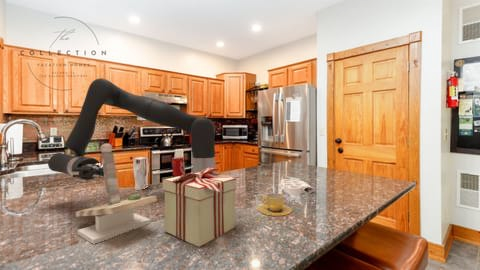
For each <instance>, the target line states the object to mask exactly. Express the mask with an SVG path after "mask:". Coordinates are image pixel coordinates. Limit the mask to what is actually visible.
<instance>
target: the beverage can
mask: <svg viewBox="0 0 480 270" xmlns="http://www.w3.org/2000/svg"><path fill="white" fill-rule="evenodd" d="M171 167H172V178H174V177H178V176H183V175H186V169H185V159H184V156H178V157H172V160H171Z"/></svg>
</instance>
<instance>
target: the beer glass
mask: <svg viewBox="0 0 480 270" xmlns="http://www.w3.org/2000/svg"><path fill="white" fill-rule="evenodd" d="M149 166H150V163H149V157H148V156H147V157H146V156H140V157H139V156H138V157H133V163H132V170H133V171H132V172H133V176H134V180H135V182H134V190H136V191H142V190H141V189H145V188H147V187H148V188H149V185H148V176H149V175H148V174H149V168H150V167H149ZM146 185H148V186H146ZM145 190H146V189H145Z"/></svg>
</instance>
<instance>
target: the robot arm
mask: <svg viewBox="0 0 480 270" xmlns="http://www.w3.org/2000/svg"><path fill="white" fill-rule="evenodd" d="M104 105H105V106H108V107H109V106H111V107H114V108H118V109H121V110H124V111H128V112H130V113H132V114H134V115H135V116H137V117H139V118H142V119H144V120H146V121H148V122H152V123H153V124H157V125H160V126H164V127H168V128H173V129H178V130H181V131H184V132H186V133H189V134H190V148H191V150H190V151H191V153H192V159H191V160H192V173H198V172H201V171H202V170H204V169H206V168H216V148H215V133H216V126H215V123H214V122H213V121H212V120H211V119H209V118H206V117H200V116H197V115H193V114H190V113H187V112H185V111H182V110H181V109H179V108H177V107H175V106H173V105H170V104H168V103H166V102H164V101H161V100H159V99H156V98H153V97H150V96H144V95H138V94H134V93H131V92H129V91H126V90H125V89H123V88H121V87H119V86H118V85H116V84H114V83H113V82H111V81H110V80H108V79H107V78H96V79H95V80H93V81H92V82H91V83H90V85H89V87H88V89H87V92H86V94H85V98H84V101H83V103H82V107H81V110H80V112H79V115H78V116H77V117H78V118H77V120H76V122H75V124H74V126H73V128H72V130H71V131H70V133H69V136H68V137H67V139H66V140H65V143H64V146H65V147H66V148H67V149H69V150H70V151H72V152H74V155H70V154H66V153H62V152H56V153H54V154H53V155H52V156H50V158H49V159H48V161H47V167H48V168H49V170H50V171H53V172H56V173H62V174H67V175H69V176H72V178H76V179H80V180H84V181H91V180H93V179H95V178H96V177H103V178H104V171H103V164H102V163H100V161H99V160H98V159H97V158H94V157H88V156H85V153H86V151H87V147H88V146H89V143H90V142H91V140H92V138H93V136H94V133H95V129H96V123H97V118H98V114H99V112H100V111H101V108H102V107H103V106H104ZM213 173H214V174H216V171H213Z"/></svg>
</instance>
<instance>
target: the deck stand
mask: <svg viewBox="0 0 480 270" xmlns="http://www.w3.org/2000/svg"><path fill="white" fill-rule="evenodd" d="M134 211H135V208H132V209H128V210H125V211H122V212H118V213H115V214H106V215H94V216H95V219H94V220H95V224H93V225H89V226H86V227H83V228H80V229H77V235H78V236H79V237H81V238H82V239H84V240H85V241H87V242H89V243H90V242H91V244H92V243H93V244H92V245H96V244H95V243H97V244H99V243H101V241H102V242H105V241H107V240H109V238H110V239H113V238H114V236H115V237H118V236H119V234H120V235H123V234H125V233H124V232H126V233H128V232H130V231H129V230H131V231H133V230H132V229H134V230H136V229H139V228H141V227H144V226H147V225H148V224H151V219H150V218H148V217H145V216H142V215H140V214H138V213H135V212H134ZM127 231H128V232H127ZM122 233H123V234H122ZM117 235H118V236H117ZM112 237H113V238H112ZM104 240H105V241H104ZM98 242H99V243H98Z"/></svg>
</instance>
